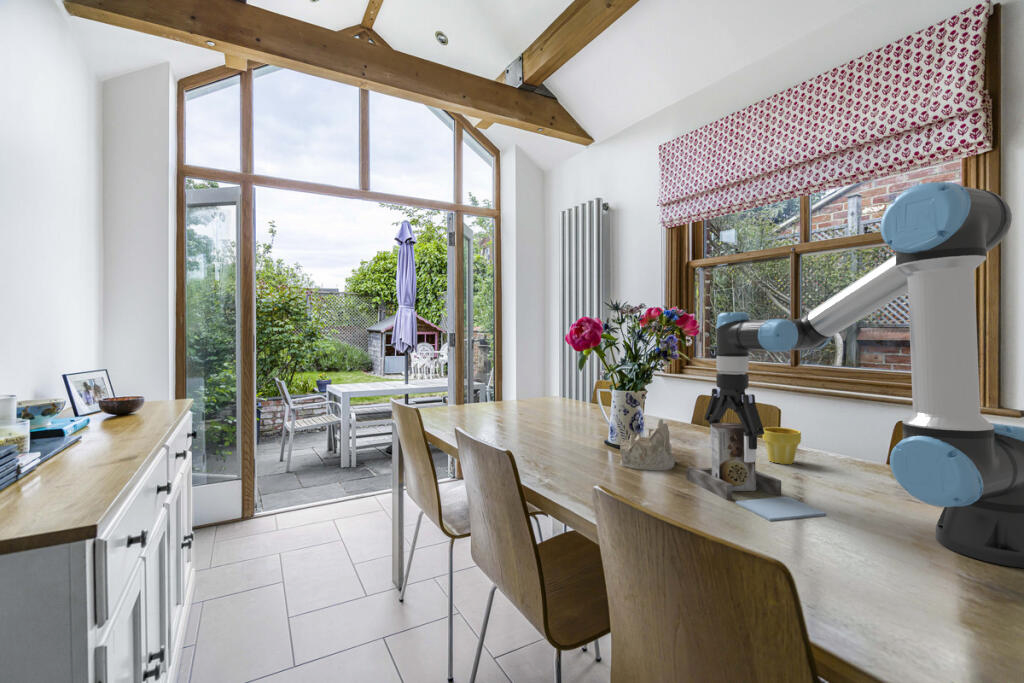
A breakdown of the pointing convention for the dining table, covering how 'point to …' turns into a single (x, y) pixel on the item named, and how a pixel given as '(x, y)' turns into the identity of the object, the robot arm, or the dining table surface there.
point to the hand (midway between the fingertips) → (731, 454)
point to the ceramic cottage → (649, 450)
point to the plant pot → (781, 444)
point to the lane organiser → (725, 489)
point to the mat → (780, 508)
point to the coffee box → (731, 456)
